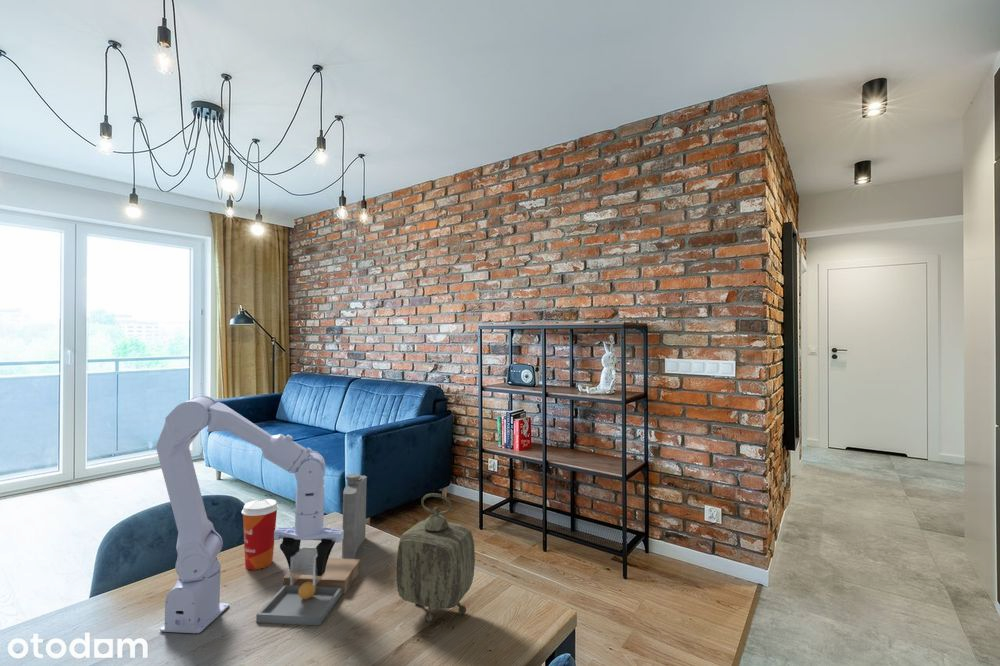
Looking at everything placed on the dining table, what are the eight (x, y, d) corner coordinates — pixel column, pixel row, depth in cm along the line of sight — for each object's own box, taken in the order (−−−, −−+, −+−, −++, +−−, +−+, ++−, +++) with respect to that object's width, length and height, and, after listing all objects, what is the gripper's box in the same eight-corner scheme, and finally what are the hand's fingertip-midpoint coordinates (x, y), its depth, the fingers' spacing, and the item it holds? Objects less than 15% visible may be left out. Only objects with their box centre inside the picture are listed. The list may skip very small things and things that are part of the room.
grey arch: (315, 586, 100) (315, 558, 100) (289, 585, 100) (290, 556, 100) (324, 574, 105) (325, 547, 105) (301, 573, 105) (301, 546, 105)
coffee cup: (241, 559, 119) (242, 500, 120) (277, 554, 123) (278, 496, 123) (238, 575, 112) (240, 511, 112) (277, 568, 115) (278, 507, 115)
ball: (309, 596, 100) (315, 579, 102) (294, 594, 100) (300, 578, 102) (313, 602, 102) (319, 586, 104) (298, 601, 102) (304, 584, 105)
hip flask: (353, 563, 119) (355, 484, 119) (336, 564, 118) (338, 484, 119) (366, 536, 135) (367, 466, 135) (351, 537, 134) (353, 466, 134)
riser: (344, 594, 105) (344, 580, 105) (282, 591, 105) (283, 577, 105) (359, 571, 115) (360, 559, 115) (303, 569, 115) (303, 556, 115)
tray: (320, 625, 93) (320, 617, 93) (256, 622, 94) (256, 614, 94) (341, 594, 104) (342, 587, 105) (284, 592, 105) (284, 584, 105)
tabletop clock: (474, 611, 99) (476, 492, 99) (455, 636, 91) (458, 506, 91) (413, 597, 104) (416, 483, 104) (390, 620, 96) (393, 496, 96)
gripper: (349, 504, 106) (347, 565, 106) (286, 502, 107) (284, 562, 106) (337, 516, 99) (335, 582, 99) (269, 514, 100) (267, 578, 99)
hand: (307, 573), depth 102 cm, fingers closed on grey arch, 5 cm apart
